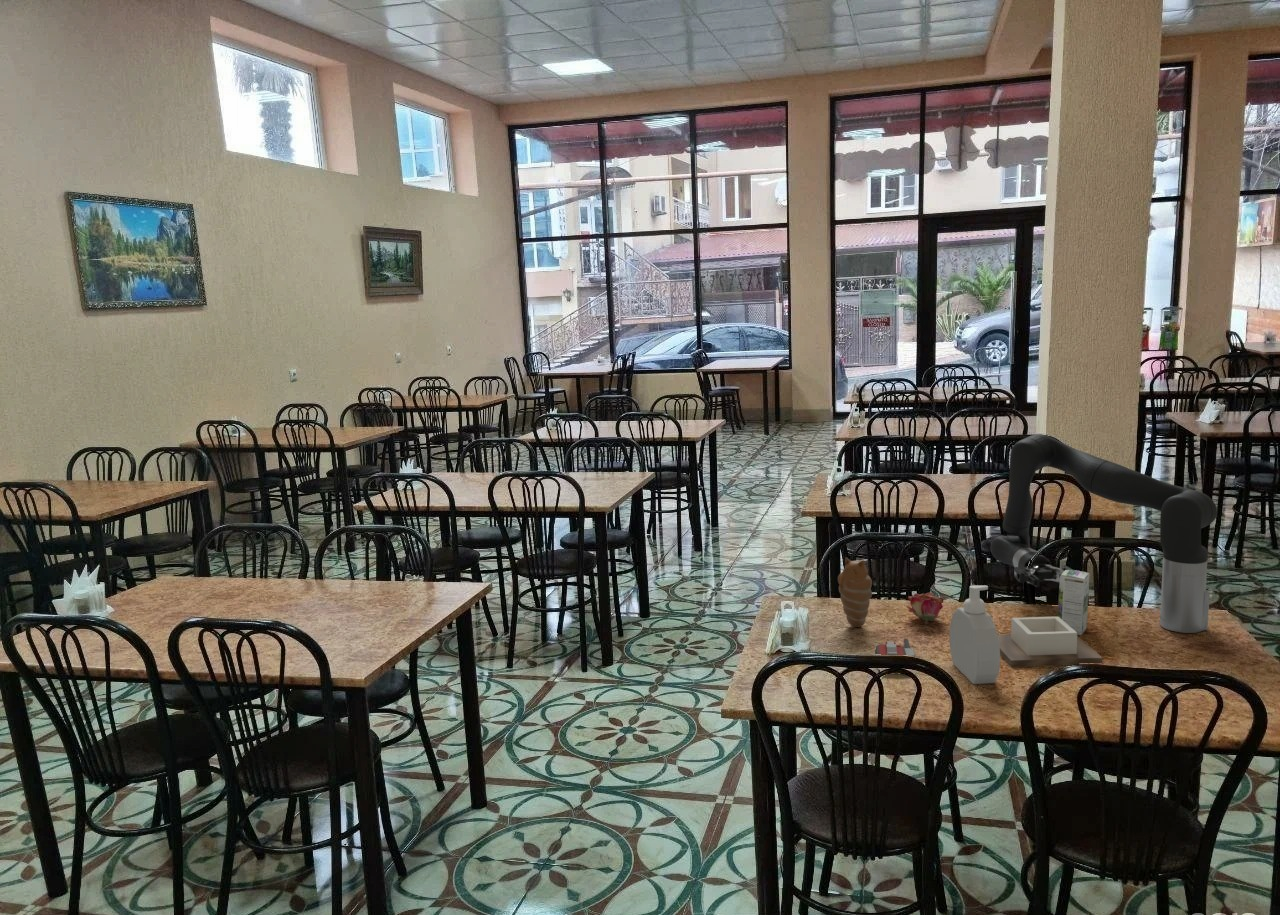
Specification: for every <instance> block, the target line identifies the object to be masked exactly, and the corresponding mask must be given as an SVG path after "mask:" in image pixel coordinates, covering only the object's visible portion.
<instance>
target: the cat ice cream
mask: <svg viewBox="0 0 1280 915" xmlns="http://www.w3.org/2000/svg"><path fill="white" fill-rule="evenodd" d="M844 563H845V566H844V569H842V571H841V572H840V573H839V574H838V576H837V582H838V584H839V585H838V593H839V594H840V601H841V604H842V609H843V612H844V614H845V615H846V616H845V617H846V620H847V622H848V624H849V625H850V626H852V627H853V626H854V627H853V628H861V627H863V626H864V625H865V623H866V619H867V617H868V613H869V607H870V604H871V603H870V602H871V598H872V595H873V592H872V590H871V588H872V585H873V580H872V578H871V577H870V575H869V574H868V573H869V572H868V568H867V566H866V565H865V563H866V562H865V560H864V559H862V560H851V559H849V558H848V557H845V559H844Z"/></svg>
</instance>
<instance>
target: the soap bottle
mask: <svg viewBox="0 0 1280 915" xmlns="http://www.w3.org/2000/svg"><path fill="white" fill-rule="evenodd" d="M986 590H989V586H988V585H985V584H984V585H981V584H979V585H972V584H971V585H970V586H969V597H968V598H966V599H965V600H964V602H963V606H962V607H957V608H956V609H955V610H954V612H953V613H952V615H951V619H950V622H949V624H950V625H949V634H948V638H949V639H948V640H949V649H950V656H951V662H952V664H953V666H954V667H955V668H956V669H957V670H958V671H959V672H961V673H962V675H963V676H964V677H965V678H967V680H968V681H969V682H970V683H972V684H973V685H983V684H984V685H986V684H995V683H996V681H997V679H998V677H999V674H1000V668H1001V667H1000V666H1001V664H1000V663H1001V655H1000V645H999V639H998V635H997V634H998V631H997V626H996V624H995V623H994V620H993V617H992V616H991V614H989V613H988V611H986V603H985V602H984V600H983V599H982V598H981V597H980V593H981V592H980V591H986Z"/></svg>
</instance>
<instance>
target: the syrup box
mask: <svg viewBox="0 0 1280 915" xmlns="http://www.w3.org/2000/svg"><path fill="white" fill-rule="evenodd" d="M1090 575H1091V574H1090V573H1089V572H1086V571H1082V570H1081V571H1080V570H1077V569H1076V570H1075V569H1072V570H1065V571H1064V572H1063V573H1062V575H1061V576H1060V581H1059V583H1058V584H1059V588H1058V607H1057V616H1058V617H1059V618H1060V619H1062V620H1063V621H1064V622H1065V623H1066V624H1068V625H1069V626H1070V627H1071V628H1072V629H1073V630H1075V631H1076V632H1077V636H1082V635H1084V633H1085V631H1086V629H1087V626H1088V614H1089V613H1088V609H1089V592H1090V590H1089V589H1090Z"/></svg>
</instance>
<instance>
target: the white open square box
mask: <svg viewBox="0 0 1280 915" xmlns="http://www.w3.org/2000/svg"><path fill="white" fill-rule="evenodd" d="M1010 620H1011V621H1010V623H1011V624H1010V625H1011V626H1010V629H1011V630H1010V634H1011V639H1012V640H1013V641H1014V642H1015V643H1016V644H1017V645H1018V646H1019V647H1020V648H1021V649H1022V650H1023V651H1024V652H1025V653H1026V654H1027V655H1059V654H1077V636H1078V635H1077V632H1076V631H1075V630H1073V629H1072V628H1071V627H1070V626H1069V625H1068V624H1066V623H1065V622H1064V621H1063V620H1062V619H1060V618H1059V617H1058V615H1057V616H1031V617H1030V616H1029V617H1011V619H1010Z"/></svg>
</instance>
